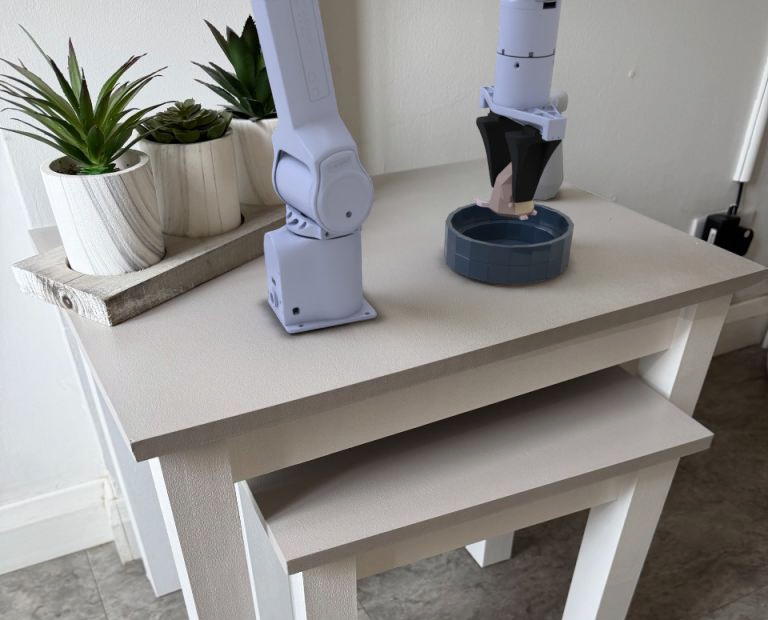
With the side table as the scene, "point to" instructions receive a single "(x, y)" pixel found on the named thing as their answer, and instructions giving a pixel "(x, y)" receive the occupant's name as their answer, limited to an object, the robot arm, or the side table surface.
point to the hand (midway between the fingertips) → (511, 193)
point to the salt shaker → (553, 158)
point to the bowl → (507, 244)
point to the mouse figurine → (507, 198)
